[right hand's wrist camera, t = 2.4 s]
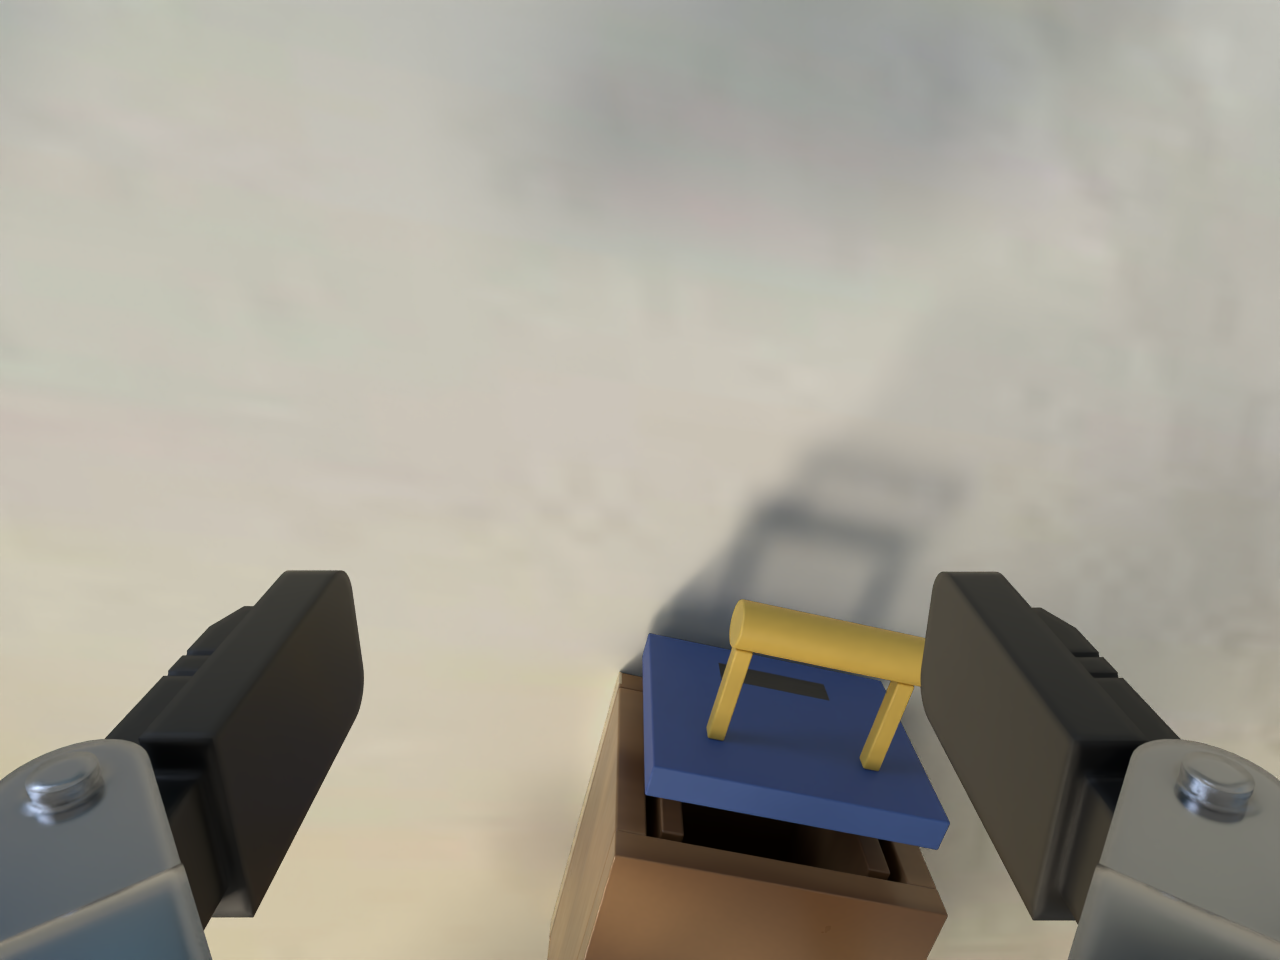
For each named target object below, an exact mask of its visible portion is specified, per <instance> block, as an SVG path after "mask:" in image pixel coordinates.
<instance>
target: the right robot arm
mask: <svg viewBox="0 0 1280 960" xmlns="http://www.w3.org/2000/svg"><path fill="white" fill-rule="evenodd" d="M920 683H921V695H922V701H923V706H924V709H925V712H926V715H927V717H928V720H929V722H930V723H931V725H932V727H933V729H934V731H935V733H936V735H937V737H938V739H939V741H940V743H941V745H942V747H943V748H944V750H945V752H946V754H947V756H948V758H949V760H950V762H951V764H952V766H953V768H954V770H955V771H956V773H957V775H958V777H959V779H960V781H961V783H962V785H963V787H964V789H965V791H966V793H967V795H968V796H969V798H970V800H971V802H972V804H973V806H974V808H975V810H976V812H977V814H978V816H979V818H980V819H981V821H982V823H983V825H984V827H985V829H986V831H987V833H988V835H989V837H990V839H991V841H992V843H993V844H994V846H995V848H996V850H997V852H998V854H999V856H1000V858H1001V860H1002V862H1003V864H1004V866H1005V867H1006V869H1007V871H1008V873H1009V875H1010V877H1011V879H1012V881H1013V883H1014V885H1015V887H1016V889H1017V891H1018V892H1019V894H1020V896H1021V898H1022V900H1023V902H1024V904H1025V906H1026V908H1027V910H1028V912H1029V914H1030V915H1031V917H1032V919H1033V920H1076V922H1077V924H1078V927H1077V931H1076V934H1075V937H1074V941H1073V944H1072V947H1071V951H1070V954H1069V957H1068V960H1280V781H1279V780H1278V779H1277V778H1276V777H1274V776H1273V775H1272V774H1270V773H1269V772H1267V771H1266V770H1264V769H1263V768H1261V767H1259V766H1258V765H1256V764H1254V763H1252V762H1250V761H1249V760H1247V759H1245V758H1242V757H1240V756H1238V755H1236V754H1234V753H1231V752H1229V751H1226V750H1223V749H1221V748H1218V747H1214V746H1211V745H1207V744H1204V743H1199V742H1194V741H1188V740H1181V739H1180V738H1179V737H1178V736H1177V735H1176V734H1175V733H1174V732H1173V731H1172V730H1171V729H1170V728H1169V726H1168V725H1167V724H1166V723H1165V722H1164V721H1163V720H1162V719H1161V718H1160V717H1159V716H1158V715H1157V714H1156V713H1155V712H1154V711H1153V709H1152V708H1151V707H1150V706H1149V705H1148V704H1147V703H1146V702H1145V701H1144V700H1143V699H1142V698H1141V697H1140V696H1139V695H1138V694H1137V692H1136V691H1135V690H1134V689H1133V688H1132V687H1131V686H1130V685H1129V684H1128V683H1127V682H1126V681H1125V680H1124V679H1123V678H1118V672H1117V671H1116V670H1115V669H1114V668H1113V667H1112V666H1111V665H1110V664H1109V663H1108V662H1107V661H1106V660H1105V659H1104V657H1099V652H1098V651H1097V650H1096V649H1095V648H1094V647H1093V646H1092V645H1091V644H1090V643H1089V642H1088V640H1087V639H1086V638H1085V637H1084V636H1083V635H1082V634H1081V633H1080V632H1079V631H1078V630H1077V629H1076V628H1075V627H1073V626H1071V625H1070V624H1068V623H1066V622H1064V621H1063V620H1061V619H1059V618H1058V617H1056V616H1054V615H1053V614H1051V613H1049V612H1047V611H1046V610H1044V609H1042V608H1031V607H1030V605H1029V604H1028V603H1027V602H1026V601H1025V600H1024V599H1023V598H1022V596H1021V595H1020V594H1019V593H1018V592H1017V591H1016V590H1015V588H1014V587H1013V586H1012V585H1011V584H1010V583H1009V582H1008V581H1007V579H1006V578H1005V577H1004V576H1003V575H1002V574H1001V573H999V572H941V573H939V574H938V576H937V577H936V579H935V582H934V585H933V590H932V596H931V603H930V610H929V617H928V624H927V631H926V638H925V645H924V652H923V659H922V666H921V677H920ZM363 686H364V671H363V662H362V655H361V648H360V641H359V634H358V627H357V620H356V613H355V606H354V599H353V592H352V586H351V582H350V579H349V577H348V575H347V574H346V573H345V572H344V571H286V572H284V573H283V574H282V575H281V576H280V577H279V578H278V579H277V580H276V581H275V583H274V584H273V585H272V586H271V587H270V588H269V589H268V591H267V592H266V593H265V594H264V595H263V596H262V597H261V599H260V600H259V601H258V602H257V603H256V604H255V605H254V606H244V607H242V608H240V609H239V610H237V611H235V612H234V613H232V614H230V615H228V616H227V617H225V618H223V619H222V620H220V621H218V622H217V623H215V624H213V625H211V626H210V627H209V628H208V629H207V630H206V631H205V632H204V633H203V634H202V635H201V636H200V637H199V638H198V639H197V641H196V642H195V643H194V644H193V645H192V646H191V647H190V648H189V649H188V650H187V655H186V656H182V657H181V658H180V659H179V660H178V661H177V662H176V663H175V664H174V665H173V666H172V667H171V668H170V669H169V670H168V676H163V677H162V678H161V679H160V680H159V681H158V682H157V683H156V684H155V685H154V687H153V688H152V689H151V690H150V691H149V692H148V693H147V694H146V695H145V696H144V697H143V698H142V699H141V700H140V702H139V703H138V704H137V705H136V706H135V707H134V708H133V709H132V710H131V711H130V712H129V713H128V714H127V715H126V717H125V718H124V719H123V720H122V721H121V722H120V723H119V724H118V725H117V726H116V727H115V728H114V729H113V730H112V732H111V733H110V734H109V735H108V736H107V737H106V738H105V739H100V740H92V741H86V742H81V743H76V744H73V745H69V746H66V747H62V748H59V749H57V750H54V751H51V752H49V753H46V754H44V755H42V756H40V757H38V758H35V759H33V760H31V761H30V762H28V763H26V764H24V765H22V766H21V767H19V768H17V769H16V770H14V771H13V772H11V773H10V774H8V775H7V776H6V777H4V778H3V779H2V780H1V781H0V960H212V957H211V954H210V951H209V947H208V944H207V941H206V937H205V934H204V929H205V927H206V926H207V924H208V922H209V920H210V919H211V917H254V915H255V913H256V911H257V909H258V907H259V905H260V903H261V901H262V899H263V897H264V896H265V894H266V892H267V890H268V888H269V886H270V884H271V882H272V880H273V878H274V876H275V874H276V872H277V870H278V868H279V866H280V864H281V862H282V861H283V859H284V857H285V855H286V853H287V851H288V849H289V847H290V845H291V843H292V841H293V839H294V837H295V835H296V833H297V831H298V829H299V828H300V826H301V824H302V822H303V820H304V818H305V816H306V814H307V812H308V810H309V808H310V806H311V804H312V802H313V800H314V798H315V796H316V794H317V793H318V791H319V789H320V787H321V785H322V783H323V781H324V779H325V777H326V775H327V773H328V771H329V769H330V767H331V765H332V763H333V761H334V759H335V758H336V756H337V754H338V752H339V750H340V748H341V746H342V744H343V742H344V740H345V738H346V736H347V734H348V732H349V730H350V728H351V726H352V724H353V723H354V721H355V719H356V717H357V714H358V712H359V709H360V705H361V701H362V695H363Z"/></svg>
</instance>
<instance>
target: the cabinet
mask: <svg viewBox="0 0 1280 960" xmlns="http://www.w3.org/2000/svg"><path fill="white" fill-rule="evenodd" d="M878 841H879V844H880V847H881V849H882V852H883V855H884V858H885V860H886V863H887V866H888V868H889V871H890V875H889V877H888V879H887V880H882V879H877V878H872V877H866V876H861V875H855V874H850V873H844V872H839V871H833V870H828V869H823V868H817V867H812V866H806V865H801V864H795V863H790V862H785V861H779V860H774V859H768V858H763V857H757V856H752V855H746V854H741V853H736V852H730V851H725V850H719V849H714V848H708V847H703V846H698V845H692V844H687V843H681V842H676V841H670V840H665V839H659V838H654V837H649V836H646V794H645V769H644V717H643V677H639V676H634V675H629V674H624V673H622V672H619V675H618V678H617V682H616V686H615V689H614V693H613V697H612V700H611V704H610V708H609V711H608V715H607V719H606V722H605V726H604V730H603V733H602V737H601V741H600V744H599V748H598V752H597V755H596V759H595V763H594V766H593V770H592V774H591V777H590V781H589V785H588V788H587V792H586V796H585V799H584V803H583V807H582V810H581V814H580V818H579V821H578V825H577V829H576V832H575V836H574V840H573V843H572V847H571V851H570V854H569V858H568V862H567V865H566V869H565V873H564V876H563V880H562V884H561V887H560V891H559V895H558V898H557V902H556V906H555V909H554V913H553V917H552V920H551V927H550V936H549V937H550V941H549V949H548V958H547V960H926V959H927V957H928V955H929V953H930V951H931V949H932V947H933V945H934V943H935V941H936V939H937V937H938V935H939V933H940V931H941V929H942V927H943V925H944V923H945V921H946V919H947V917H948V914H947V912H946V910H945V907H944V905H943V903H942V900H941V898H940V896H939V893H938V891H937V890H936V887H935V884H934V882H933V879H932V877H931V875H930V872H929V870H928V868H927V865H926V863H925V861H924V858H923V856H922V854H921V851H920V849H919V846H914V845H909V844H903V843H898V842H893V841H887V840H882V839H878Z"/></svg>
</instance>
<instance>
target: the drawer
mask: <svg viewBox="0 0 1280 960" xmlns="http://www.w3.org/2000/svg"><path fill="white" fill-rule="evenodd" d="M729 638H730V645H731V646H732V650H729V649H724V648H719V647H714V646H709V645H704V644H700V643H695V642H690V641H685V640H680V639H675V638H671V637H666V636H661V635H656V634H651V633H649V635H648V638H647V642H646V645H645V649H644V652H643V656H642V665H643V717H644V769H645V794H646V836H649V837H654V838H659V839H665V840H670V841H676V842H681V843H687V844H692V845H698V846H703V847H708V848H714V849H719V850H725V851H730V852H736V853H741V854H746V855H752V856H757V857H763V858H768V859H774V860H779V861H785V862H790V863H795V864H801V865H806V866H812V867H817V868H823V869H828V870H833V871H839V872H844V873H850V874H855V875H861V876H866V877H872V878H877V879H882V880H887V879H888V877H889V875H890V871H889V868H888V866H887V863H886V860H885V858H884V855H883V852H882V849H881V847H880V844H879V841H878V839H882V840H887V841H893V842H898V843H903V844H909V845H914V846H919V847H924V848H930V849H935V850H937V849H938V848H939V846H940V844H941V842H942V840H943V837H944V835H945V833H946V831H947V829H948V827H949V825H950V822H949V820H948V818H947V816H946V814H945V811H944V809H943V807H942V805H941V803H940V801H939V799H938V797H937V795H936V793H935V791H934V789H933V787H932V785H931V783H930V781H929V779H928V777H927V775H926V773H925V770H924V768H923V766H922V764H921V762H920V760H919V758H918V756H917V754H916V752H915V750H914V748H913V746H912V744H911V742H910V740H909V738H908V736H907V734H906V731H905V729H904V727H903V725H902V723H901V721H900V720H901V717H902V715H903V713H904V710H905V708H906V706H907V703H908V701H909V698H910V696H911V694H912V691H913V689H914V685H915V686H919V687H921V683H920V677H921V666H922V659H923V652H924V645H925V638H923V637H918V636H913V635H908V634H904V633H899V632H894V631H890V630H885V629H880V628H876V627H871V626H866V625H861V624H857V623H852V622H847V621H843V620H838V619H833V618H829V617H824V616H819V615H814V614H810V613H805V612H800V611H796V610H791V609H786V608H782V607H777V606H772V605H768V604H763V603H758V602H753V601H749V600H744V599H741V600H739V601H738V603H737V604H736V606H735V609H734V612H733V615H732V619H731V624H730V633H729ZM753 652H755V653H760V654H765V655H770V656H775V657H779V658H784V659H789V660H794V661H799V662H804V663H808V664H813V665H818V666H823V667H828V668H833V669H837V670H842V671H847V672H852V673H857V674H862V675H866V676H871V677H876V678H881V679H886V680H891V682H890V684H889V686H888V689H887V691H886V690H885V688H884V686H883V684H882V682H881V681H878V680H874V679H869V678H864V677H859V676H854V675H849V674H845V673H840V672H835V671H830V670H825V669H820V668H816V667H811V666H806V665H801V664H796V663H791V662H787V661H782V660H777V659H772V658H767V657H762V656H758V655H753Z"/></svg>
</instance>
